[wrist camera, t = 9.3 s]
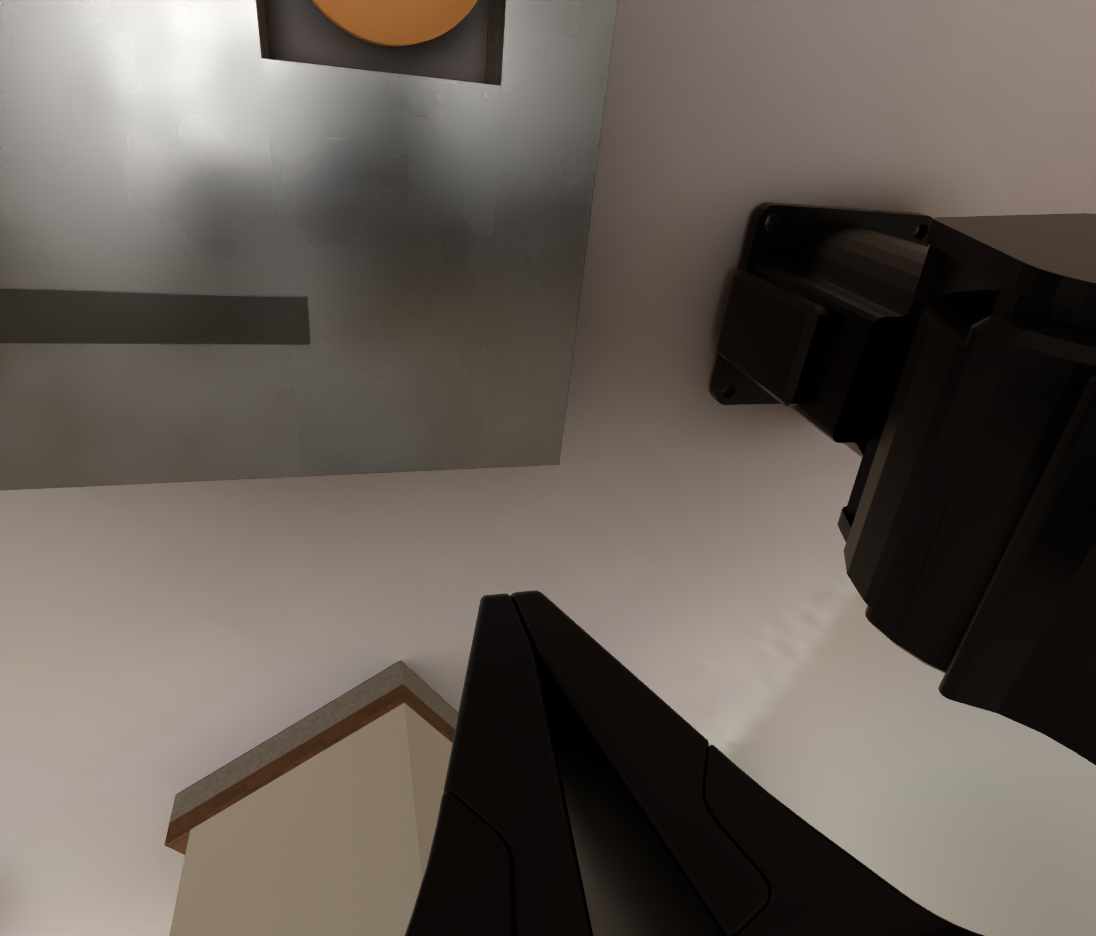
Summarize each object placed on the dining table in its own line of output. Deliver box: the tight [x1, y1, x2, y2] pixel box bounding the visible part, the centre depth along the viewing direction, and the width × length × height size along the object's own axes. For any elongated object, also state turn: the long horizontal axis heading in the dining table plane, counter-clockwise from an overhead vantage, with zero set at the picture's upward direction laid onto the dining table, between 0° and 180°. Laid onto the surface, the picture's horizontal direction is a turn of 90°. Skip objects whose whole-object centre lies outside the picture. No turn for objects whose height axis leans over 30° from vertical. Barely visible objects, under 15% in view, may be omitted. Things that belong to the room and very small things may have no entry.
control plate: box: [0, 0, 618, 490], centre depth 14 cm, size 22×17×2 cm
